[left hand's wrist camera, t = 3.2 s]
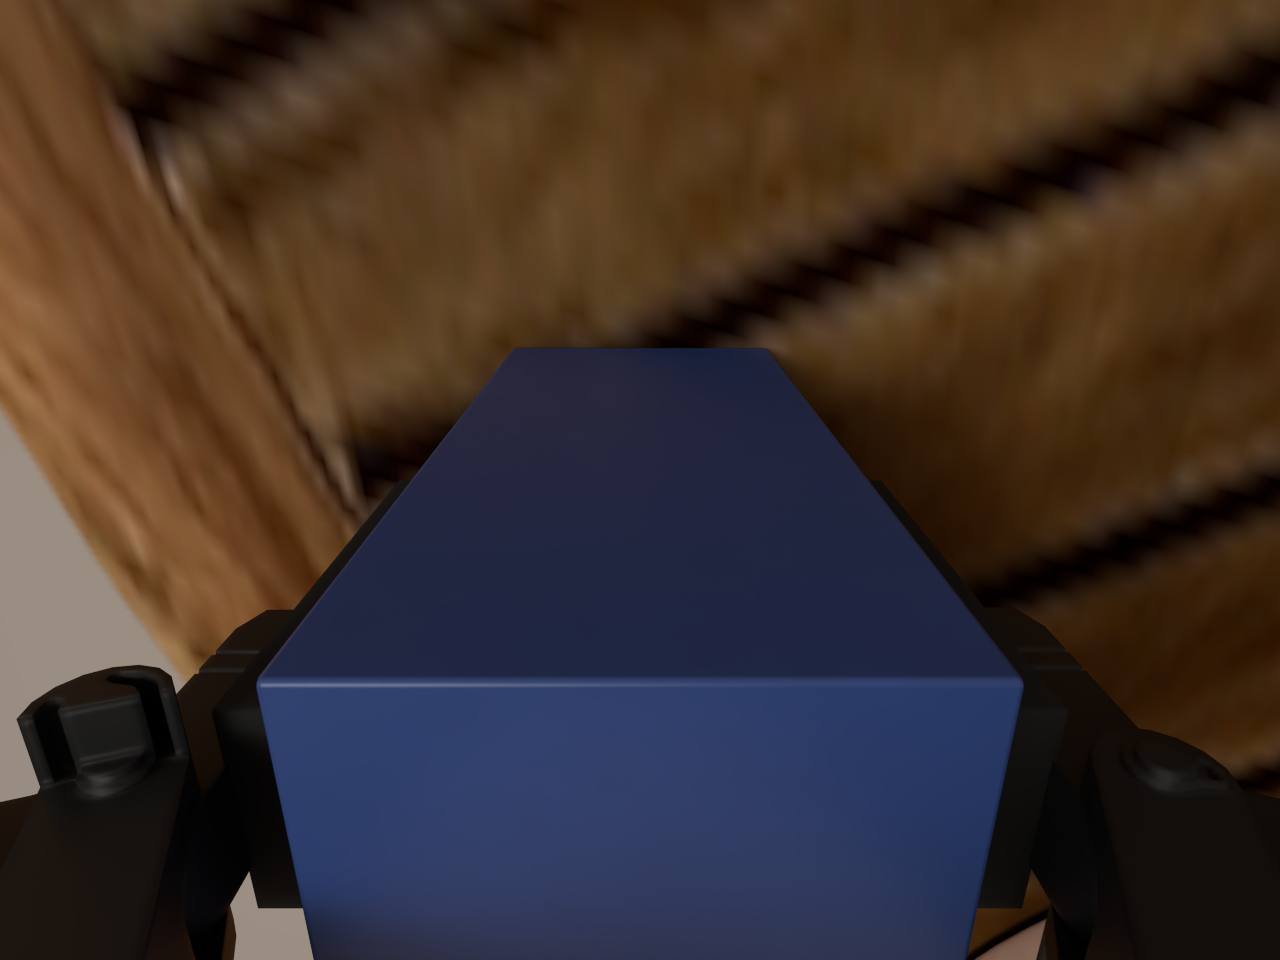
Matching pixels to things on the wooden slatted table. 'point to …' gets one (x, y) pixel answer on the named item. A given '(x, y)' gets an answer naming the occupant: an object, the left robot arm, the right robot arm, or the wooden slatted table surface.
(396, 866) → the block
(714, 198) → the wooden slatted table surface
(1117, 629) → the wooden slatted table surface
